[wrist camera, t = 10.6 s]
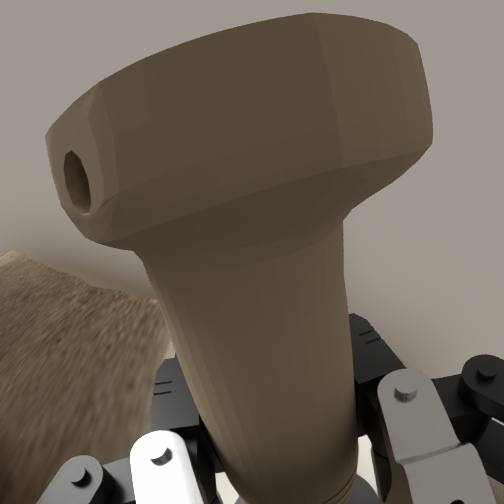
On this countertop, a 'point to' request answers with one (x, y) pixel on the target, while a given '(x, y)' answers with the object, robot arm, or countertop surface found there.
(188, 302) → the handle
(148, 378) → the countertop surface
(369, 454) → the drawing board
